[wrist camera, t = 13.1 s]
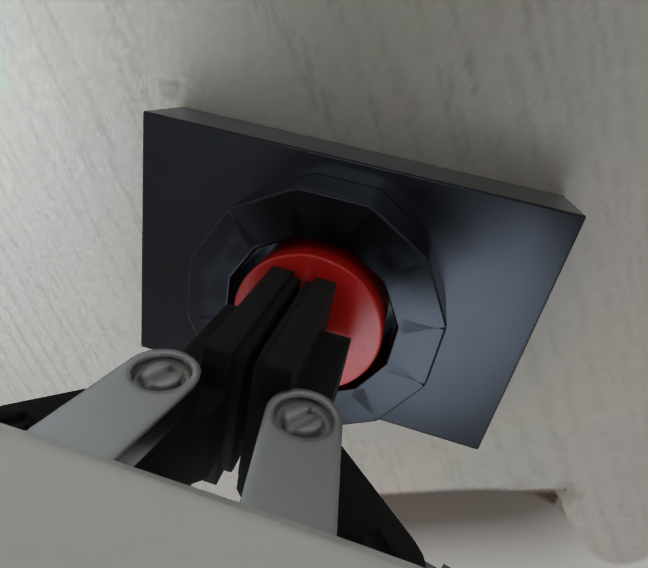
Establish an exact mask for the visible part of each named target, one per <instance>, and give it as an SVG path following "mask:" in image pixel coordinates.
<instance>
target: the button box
mask: <svg viewBox="0 0 648 568" xmlns="http://www.w3.org/2000/svg"><path fill="white" fill-rule="evenodd" d="M585 218H586V216H585V215H584V214H583V213H582V212H581V211H579V210H578V209H577V208H576V207H575V206H574V205H573V204H572V203H571V202H570V201H568V200H567V199H566V198H565V197H564V196H561V195H557V194H553V193H548V192H544V191H540V190H535V189H531V188H527V187H523V186H518V185H514V184H510V183H506V182H501V181H497V180H493V179H488V178H484V177H480V176H476V175H471V174H467V173H463V172H459V171H454V170H450V169H446V168H441V167H437V166H433V165H429V164H424V163H420V162H416V161H411V160H407V159H403V158H399V157H394V156H390V155H386V154H382V153H377V152H373V151H369V150H364V149H360V148H356V147H352V146H347V145H343V144H339V143H335V142H330V141H326V140H322V139H317V138H313V137H309V136H305V135H300V134H296V133H292V132H288V131H283V130H279V129H275V128H270V127H266V126H262V125H258V124H253V123H249V122H245V121H240V120H236V119H232V118H228V117H223V116H219V115H215V114H211V113H206V112H202V111H198V110H193V109H189V108H185V107H179V108H169V109H160V110H150V111H144V116H143V228H142V339H141V345H142V346H143V347H147V348H150V349H153V350H154V349H174V350H178V351H183V350H184V349H185V348H186V347H187V346H188V345H189V344H190V343H191V342H192V341H193V340H194V338H195V337H196V336H197V335H198V334H199V333H200V332H201V331H202V330H203V329H204V328H205V327H206V325H207V324H208V323H209V322H210V321H211V320H212V319H213V318H214V317H215V316H216V315H217V314H218V313H219V311H220V310H221V309H222V308H223V307H224V306H225V305H227V304H232V305H234V304H235V298H236V295H237V292H238V289H239V287H240V285H241V283H242V281H243V280H244V278H245V277H246V276H247V274H248V273H249V272H250V271H251V270H252V269H253V268H254V267H255V266H256V265H257V264H258V263H259V262H260V261H261V260H262V259H263V258H264V257H265V256H266V255H267V254H268V253H269V252H270V251H271V250H272V249H273V248H274V247H275V246H277V245H278V244H279V243H281V242H283V241H286V240H290V239H293V238H297V237H303V238H307V239H311V240H314V241H318V242H322V243H326V244H330V245H333V246H337V247H341V248H345V249H348V250H349V251H350V252H352V253H353V254H354V255H355V256H356V257H357V258H358V259H359V260H360V261H361V262H362V263H363V264H364V265H366V266H367V267H368V268H369V269H370V270H371V271H372V272H373V273H374V274H375V275H376V276H377V277H379V278H380V279H381V280H382V281H383V282H384V285H385V288H386V292H387V295H388V298H389V307H388V313H387V318H386V323H385V327H384V332H383V337H382V341H381V346H380V349H379V352H378V354H377V356H376V358H375V360H374V361H373V363H372V364H371V365H370V367H369V368H368V369H367V370H366V371H365V372H364V373H363V374H362V375H360V376H359V377H357V378H356V379H354V380H353V381H351V382H349V383H347V384H344V385H341V386H339V388H338V392H337V395H336V398H335V401H334V404H335V405H336V406H337V407H338V409H339V411H340V412H341V416H342V425H344V424H353V423H361V422H370V421H376V420H379V419H380V420H384V421H387V422H390V423H393V424H397V425H400V426H403V427H406V428H410V429H413V430H416V431H419V432H423V433H426V434H429V435H432V436H436V437H439V438H442V439H445V440H449V441H452V442H455V443H458V444H462V445H465V446H468V447H471V448H475V449H478V448H479V446H480V443H481V441H482V439H483V437H484V435H485V433H486V431H487V428H488V426H489V424H490V422H491V420H492V418H493V416H494V413H495V411H496V409H497V407H498V405H499V403H500V401H501V398H502V396H503V394H504V392H505V390H506V388H507V386H508V383H509V381H510V379H511V377H512V375H513V373H514V371H515V368H516V366H517V364H518V362H519V360H520V358H521V356H522V353H523V351H524V349H525V347H526V345H527V343H528V340H529V338H530V336H531V334H532V332H533V330H534V328H535V325H536V323H537V321H538V319H539V317H540V315H541V313H542V310H543V308H544V306H545V304H546V302H547V300H548V298H549V295H550V293H551V291H552V289H553V287H554V285H555V283H556V280H557V278H558V276H559V274H560V272H561V270H562V268H563V265H564V263H565V261H566V259H567V257H568V255H569V253H570V250H571V248H572V246H573V244H574V242H575V240H576V238H577V235H578V233H579V231H580V229H581V227H582V225H583V223H584V220H585Z"/></svg>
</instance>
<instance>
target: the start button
mask: <svg viewBox="0 0 648 568" xmlns="http://www.w3.org/2000/svg"><path fill="white" fill-rule="evenodd" d="M272 266H276V267H280V268H284V269H287V270H291V271H294V277H296V278H300V287H299V291H300V290H301V288H302V286H303V285H304V283H305V282H306V280H307V281H311V282H313V281H314V279H315V278H316V277H317V278H321V279H324V280H328V281H332V282H336V283H337V285H336V290H335V295H334V299H333V304H332V308H331V312H330V317H329V321H328V326H327V330H326V331H327V332H331V333H334V334H338V335H341V336H345V337H349V338H351V343H350V347H349V351H348V355H347V358H346V362H345V366H344V370H343V374H342V377H341V381H340V385H339V386H341V385H344V384H347V383H349V382H351V381H353V380H354V379H356V378H357V377H359V376H360V375H362V374H363V373H364V372H365V371H366V370H367V369H368V368H369V367H370V365H371V364H372V363H373V361H374V360H375V358H376V356H377V354H378V352H379V349H380V346H381V341H382V337H383V332H384V327H385V323H386V318H387V313H388V307H389V298H388V295H387V292H386V288H385V285H384V282H383V281H382V280H381V279H380V278H379V277H377V276H376V275H375V274H374V273H373V272H372V271H371V270H370V269H369V268H368V267H367V266H366V265H364V264H363V263H362V262H361V261H360V260H359V259H358V258H357V257H356V256H355V255H354V254H353V253H352V252H350V251H349V250H348V249H345V248H341V247H337V246H333V245H330V244H326V243H322V242H318V241H314V240H311V239H307V238H303V237H297V238H293V239H290V240H286V241H283V242H281V243H279V244H278V245H277V246H275V247H274V248H273V249H272V250H271V251H270V252H269V253H268V254H267V255H266V256H265V257H264V258H263V259H262V260H261V261H260V262H259V263H258V264H257V265H256V266H255V267H254V268H253V269H252V270H251V271H250V272H249V273H248V274H247V276H246V277H245V278H244V280H243V281H242V283H241V285H240V287H239V289H238V292H237V295H236V298H235V304H234V305H236V306H238V305H239V304H240V303H241V302H242V301H243V299H244V298H245V297H246V296H247V295H248V294H249V292H250V291H251V290H252V289H253V288H254V287H255V286H256V284H257V283H258V282H259V281H260V280H261V279H262V277H263V276H264V275H265V274H266V273H267V272H268V271H269V269H270V268H271V267H272ZM298 293H299V292H298Z"/></svg>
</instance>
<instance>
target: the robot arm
mask: <svg viewBox="0 0 648 568" xmlns="http://www.w3.org/2000/svg"><path fill="white" fill-rule="evenodd" d="M336 285H337V283H336V282H332V281H328V280H324V279H321V278H317V277H316V278H315V279H314V281H313V282H311V281H307V280H306V282H305V283H304V285H303V286H302V288H301V290H300V291H299V287H300V278H296V277H294V271H291V270H287V269H284V268H280V267H276V266H272V267H271V268H270V269H269V271H268V272H267V273H266V274H265V275H264V276H263V277H262V279H261V280H260V281H259V282H258V283H257V284H256V286H255V287H254V288H253V289H252V290H251V291H250V292H249V294H248V295H247V296H246V297H245V298H244V299H243V301H242V302H241V303H240V304H239V305H238V306H236V305H232V304H227V305H225V306H224V307H223V308H222V309H221V310H220V311H219V313H218V314H217V315H216V316H215V317H214V318H213V319H212V320H211V321H210V322H209V323H208V324H207V325H206V327H205V328H204V329H203V330H202V331H201V332H200V333H199V334H198V335H197V336H196V337H195V338H194V340H193V341H192V342H191V343H190V344H189V345H188V346H187V347H186V348H185V349H184V350H183V351H178V350H174V349H154V350H149V351H146V352H142V353H140V354H138V355H136V356H134V357H132V358H130V359H129V360H128V361H126V362H125V363H123V364H122V365H120V366H119V367H117V368H116V369H114V370H113V371H112V372H110V373H109V374H107V375H106V376H104V377H103V378H101V379H100V380H99V381H97V382H96V383H94V384H93V385H91V386H90V387H88V388H87V389H82V390H77V391H72V392H67V393H62V394H57V395H52V396H47V397H42V398H37V399H32V400H27V401H23V402H18V403H13V404H8V405H3V406H0V568H436V567H434V566H432V565H431V564H429V563H427V562H425V561H424V557H423V555H422V553H421V551H420V549H419V547H418V546H417V544H416V542H415V541H414V540H413V538H412V537H411V536H410V534H409V533H408V532H407V530H406V529H405V528H404V527H403V525H402V524H401V523H400V521H399V520H398V519H397V517H396V516H395V515H394V513H393V512H392V511H391V510H390V508H389V507H388V506H387V504H386V503H385V502H384V500H383V499H382V498H381V497H380V495H379V494H378V493H377V491H376V490H375V489H374V487H373V486H372V485H371V483H370V482H369V481H368V480H367V478H366V477H365V476H364V474H363V473H362V472H361V470H360V469H359V468H358V467H357V465H356V464H355V463H354V461H353V460H352V459H351V457H350V456H349V455H348V454H347V452H346V451H345V450H344V448H343V447H342V446H341V442H342V416H341V412H340V411H339V409H338V407H337V406H336V405H335V404H334V401H335V398H336V395H337V392H338V388H339V385H340V381H341V377H342V374H343V370H344V366H345V362H346V358H347V355H348V351H349V347H350V343H351V338H349V337H345V336H341V335H338V334H334V333H331V332H327V331H326V330H327V326H328V321H329V317H330V312H331V308H332V304H333V299H334V295H335V290H336ZM298 292H299V293H298ZM240 455H241V457H240ZM239 457H240V464H239V471H238V474H239V476H238V483H237V490H238V492H239V494H240V496H241V499H240V503H239V502H236V501H233V500H230V499H227V498H224V497H221V496H218V495H215V494H212V493H209V492H206V491H203V490H200V489H197V488H195V487H192V486H191V485H192V484H193V483H195V482H198V481H201V480H203V481H206V482H209V483H212V484H215V485H216V484H217V482H218V480H219V478H220V476H221V475H222V473H223V471H224V470H225V471H229V472H232V470H233V469H234V467H235V465H236V463H237V461H238V459H239ZM442 568H450V567H448V566H446V565H445V564H443V566H442Z"/></svg>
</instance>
